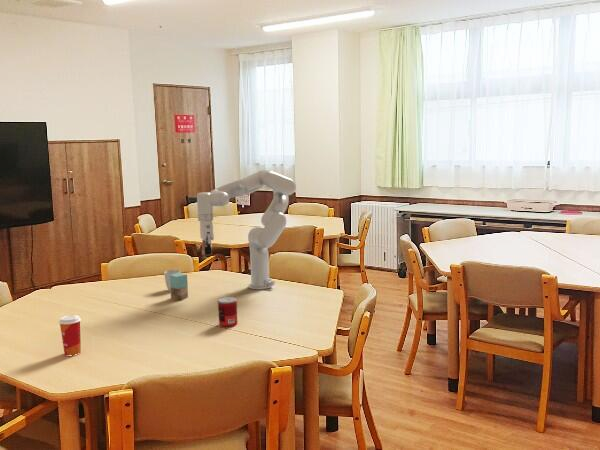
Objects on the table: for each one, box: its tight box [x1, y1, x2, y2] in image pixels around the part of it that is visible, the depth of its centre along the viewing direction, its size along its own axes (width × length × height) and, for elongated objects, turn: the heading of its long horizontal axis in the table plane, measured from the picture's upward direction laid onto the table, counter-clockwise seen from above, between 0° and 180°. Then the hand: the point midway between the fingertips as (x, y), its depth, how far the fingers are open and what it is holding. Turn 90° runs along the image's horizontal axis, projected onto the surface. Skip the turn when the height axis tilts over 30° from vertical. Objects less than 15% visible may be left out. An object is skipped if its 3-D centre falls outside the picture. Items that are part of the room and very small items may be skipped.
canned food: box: [217, 296, 238, 328], centre depth 256 cm, size 8×8×11 cm
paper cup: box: [58, 314, 82, 356], centre depth 225 cm, size 8×8×14 cm
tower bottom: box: [170, 287, 189, 302], centre depth 299 cm, size 6×6×6 cm
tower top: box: [170, 272, 188, 289], centre depth 298 cm, size 6×6×6 cm
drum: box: [201, 241, 213, 257], centre depth 301 cm, size 5×5×6 cm
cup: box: [163, 269, 181, 292], centre depth 315 cm, size 8×8×10 cm
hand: (207, 253), depth 301 cm, fingers closed on drum, 5 cm apart
